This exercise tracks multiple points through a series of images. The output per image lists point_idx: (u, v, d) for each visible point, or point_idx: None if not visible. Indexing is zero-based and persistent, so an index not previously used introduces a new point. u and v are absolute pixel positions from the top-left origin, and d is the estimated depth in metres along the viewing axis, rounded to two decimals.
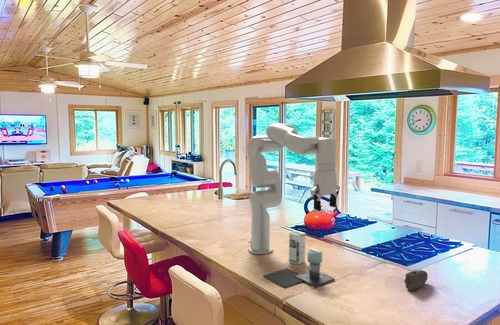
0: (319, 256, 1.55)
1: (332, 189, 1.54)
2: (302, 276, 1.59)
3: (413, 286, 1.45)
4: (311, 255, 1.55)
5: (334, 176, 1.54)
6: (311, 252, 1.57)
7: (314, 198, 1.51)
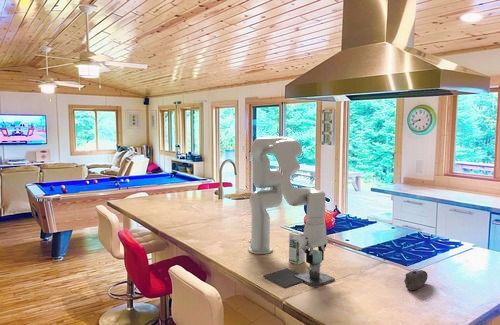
0: (319, 256, 1.55)
1: (322, 241, 1.56)
2: (302, 276, 1.59)
3: (413, 286, 1.45)
4: None
5: (324, 228, 1.56)
6: None
7: (306, 252, 1.54)
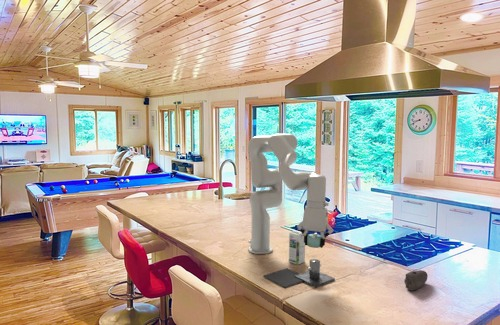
0: (312, 241, 1.55)
1: (317, 227, 1.54)
2: (302, 276, 1.59)
3: (413, 286, 1.45)
4: (307, 237, 1.58)
5: (320, 214, 1.53)
6: (310, 235, 1.58)
7: (302, 232, 1.59)
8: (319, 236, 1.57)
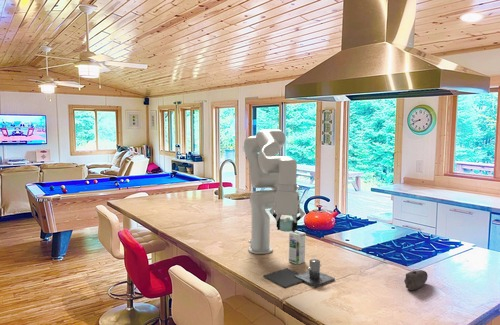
0: (283, 224, 1.54)
1: (289, 210, 1.54)
2: (302, 276, 1.59)
3: (413, 286, 1.45)
4: None
5: (291, 198, 1.53)
6: (283, 219, 1.58)
7: None
8: (291, 220, 1.57)
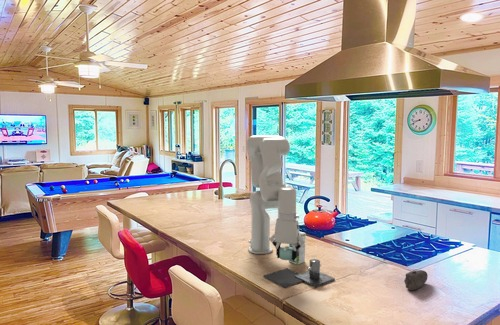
0: (283, 253, 1.56)
1: (289, 239, 1.55)
2: (302, 276, 1.59)
3: (413, 286, 1.45)
4: None
5: (291, 227, 1.54)
6: (283, 247, 1.59)
7: None
8: (291, 248, 1.58)
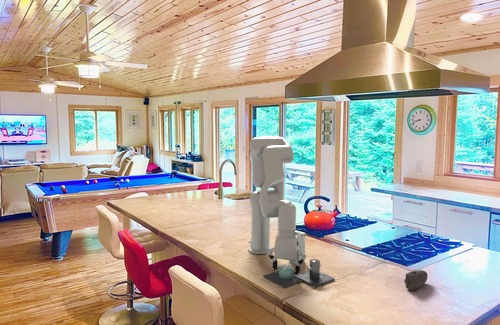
0: (283, 272, 1.57)
1: (288, 255, 1.56)
2: (302, 276, 1.59)
3: (413, 286, 1.45)
4: (279, 269, 1.60)
5: (291, 243, 1.55)
6: (282, 266, 1.60)
7: None
8: (290, 268, 1.59)
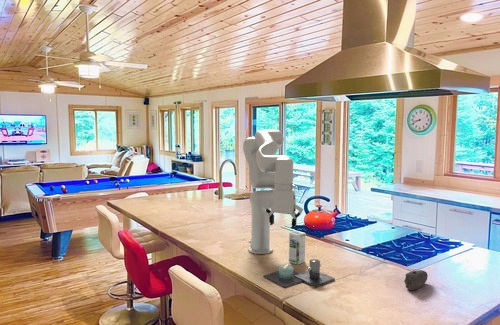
0: (283, 272, 1.57)
1: (285, 209, 1.56)
2: (302, 276, 1.59)
3: (413, 286, 1.45)
4: (279, 269, 1.60)
5: (287, 197, 1.55)
6: (282, 266, 1.60)
7: (267, 212, 1.62)
8: (290, 268, 1.59)
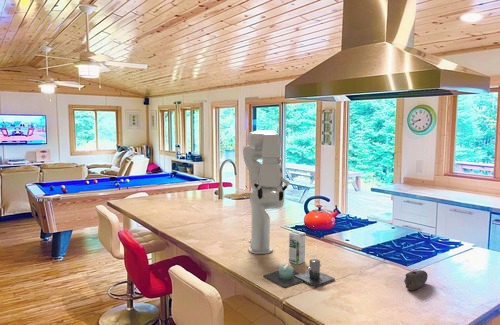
0: (283, 272, 1.57)
1: (272, 182, 1.63)
2: (302, 276, 1.59)
3: (413, 286, 1.45)
4: (279, 269, 1.60)
5: (274, 170, 1.62)
6: (282, 266, 1.60)
7: (256, 187, 1.68)
8: (290, 268, 1.59)
